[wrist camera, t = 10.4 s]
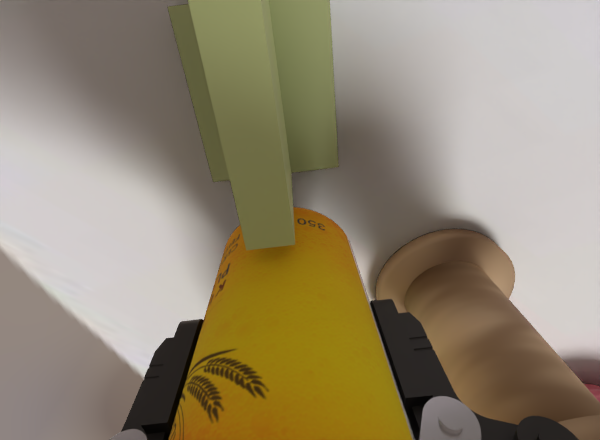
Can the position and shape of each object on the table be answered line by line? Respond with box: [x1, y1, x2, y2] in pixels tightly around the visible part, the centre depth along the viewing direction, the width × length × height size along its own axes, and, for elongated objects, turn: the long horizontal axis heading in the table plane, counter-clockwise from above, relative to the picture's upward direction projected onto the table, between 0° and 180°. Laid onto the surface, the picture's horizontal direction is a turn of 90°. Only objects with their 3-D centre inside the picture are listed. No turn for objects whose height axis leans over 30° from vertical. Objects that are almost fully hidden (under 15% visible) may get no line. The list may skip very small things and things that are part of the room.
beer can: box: [169, 207, 415, 440], centre depth 9 cm, size 6×6×15 cm
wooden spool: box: [376, 229, 600, 440], centre depth 15 cm, size 8×8×11 cm
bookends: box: [168, 0, 339, 250], centre depth 15 cm, size 6×22×7 cm, turn 6°
